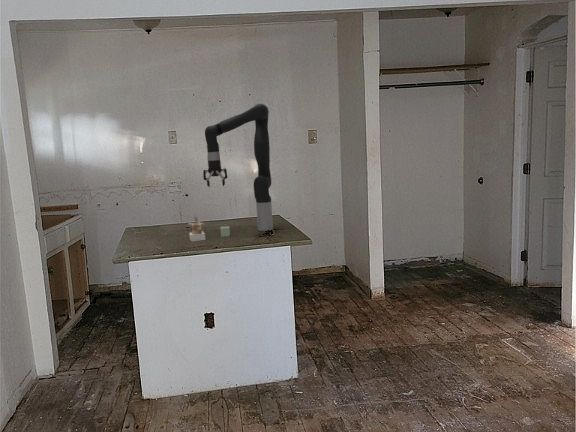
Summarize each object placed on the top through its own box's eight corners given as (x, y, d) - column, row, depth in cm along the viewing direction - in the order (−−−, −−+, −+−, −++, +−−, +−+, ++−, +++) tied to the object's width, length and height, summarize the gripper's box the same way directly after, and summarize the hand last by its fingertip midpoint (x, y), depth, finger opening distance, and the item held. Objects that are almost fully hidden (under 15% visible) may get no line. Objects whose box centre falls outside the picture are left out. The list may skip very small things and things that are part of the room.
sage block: (229, 234, 307) (229, 226, 306) (229, 236, 302) (229, 228, 302) (221, 235, 307) (220, 226, 306) (221, 236, 302) (220, 228, 301)
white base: (203, 237, 304) (202, 230, 303) (205, 240, 296) (204, 233, 296) (189, 239, 301) (189, 232, 301) (191, 242, 294) (190, 234, 293)
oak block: (201, 231, 301) (201, 223, 300) (201, 233, 296) (200, 224, 295) (193, 232, 300) (192, 223, 299) (192, 234, 295) (191, 225, 294)
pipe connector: (202, 234, 312) (200, 218, 311) (186, 234, 314) (185, 218, 313) (207, 230, 322) (206, 215, 320) (192, 230, 324) (191, 215, 322)
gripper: (226, 158, 314) (228, 184, 316) (202, 159, 313) (204, 186, 315) (225, 159, 306) (227, 186, 309) (201, 160, 305) (203, 187, 308)
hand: (216, 186), depth 312 cm, fingers open, 8 cm apart
